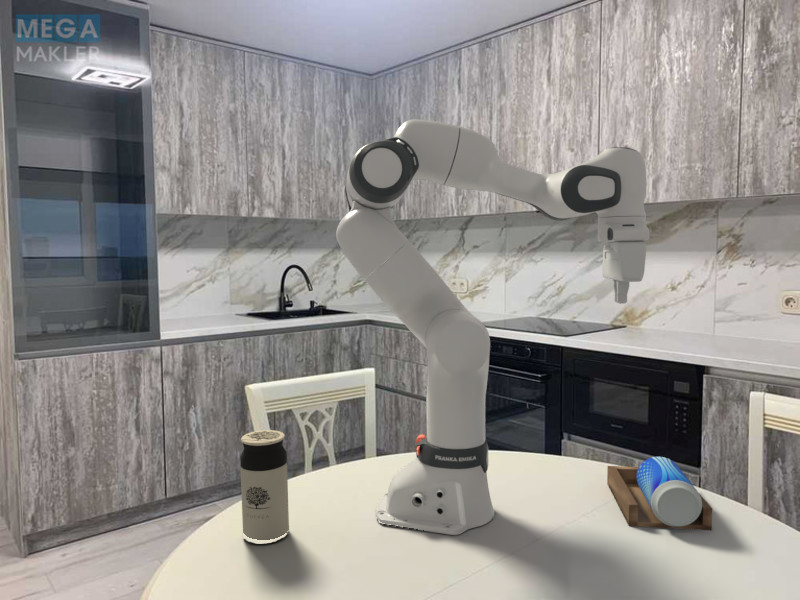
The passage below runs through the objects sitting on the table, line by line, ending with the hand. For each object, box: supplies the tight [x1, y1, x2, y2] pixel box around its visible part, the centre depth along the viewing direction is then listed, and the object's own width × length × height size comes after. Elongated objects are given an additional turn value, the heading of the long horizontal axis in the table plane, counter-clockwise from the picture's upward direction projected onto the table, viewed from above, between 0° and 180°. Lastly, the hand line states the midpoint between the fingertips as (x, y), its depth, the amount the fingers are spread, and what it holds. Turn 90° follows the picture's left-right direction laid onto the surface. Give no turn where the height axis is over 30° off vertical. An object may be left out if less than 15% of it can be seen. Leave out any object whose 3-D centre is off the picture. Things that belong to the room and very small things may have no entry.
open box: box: [606, 465, 713, 531], centre depth 115 cm, size 14×20×4 cm
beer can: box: [637, 456, 702, 527], centre depth 110 cm, size 8×8×16 cm
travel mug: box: [239, 429, 290, 540], centre depth 104 cm, size 8×8×18 cm
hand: (620, 303), depth 117 cm, fingers closed
